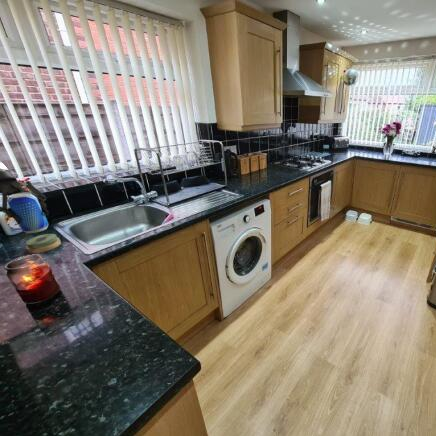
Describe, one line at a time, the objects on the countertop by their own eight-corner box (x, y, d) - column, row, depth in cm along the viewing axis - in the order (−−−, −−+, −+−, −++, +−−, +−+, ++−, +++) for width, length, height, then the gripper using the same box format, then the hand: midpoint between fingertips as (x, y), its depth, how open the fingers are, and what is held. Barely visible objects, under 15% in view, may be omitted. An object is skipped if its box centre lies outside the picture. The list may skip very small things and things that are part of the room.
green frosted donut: (20, 254, 104) (16, 246, 102) (41, 241, 114) (37, 233, 112) (49, 252, 105) (45, 244, 103) (67, 239, 115) (63, 232, 113)
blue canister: (21, 236, 100) (2, 199, 94) (24, 228, 106) (6, 194, 100) (49, 230, 105) (33, 195, 99) (50, 223, 111) (35, 190, 104)
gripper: (32, 175, 112) (63, 213, 113) (-39, 188, 95) (-2, 232, 95) (32, 165, 108) (65, 204, 108) (-42, 176, 91) (-3, 223, 91)
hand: (34, 218), depth 102 cm, fingers closed on blue canister, 8 cm apart
